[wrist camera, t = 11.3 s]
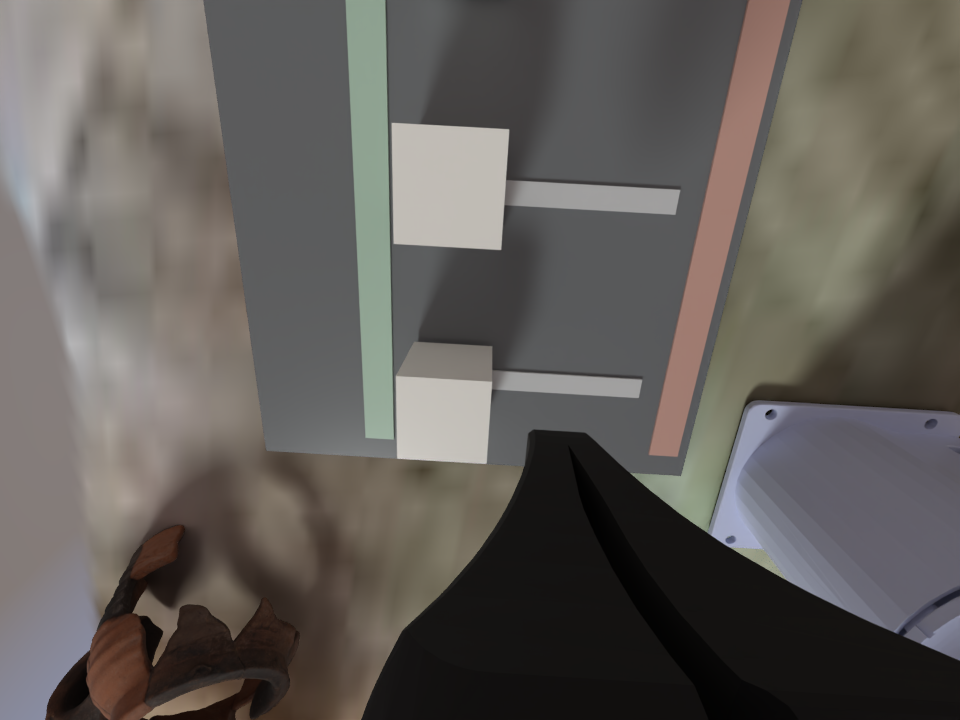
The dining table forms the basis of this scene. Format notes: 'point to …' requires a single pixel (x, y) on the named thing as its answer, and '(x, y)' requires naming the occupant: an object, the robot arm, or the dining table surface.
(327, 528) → the dining table surface
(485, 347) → the block
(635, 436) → the panel
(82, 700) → the pottery mug
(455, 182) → the block
